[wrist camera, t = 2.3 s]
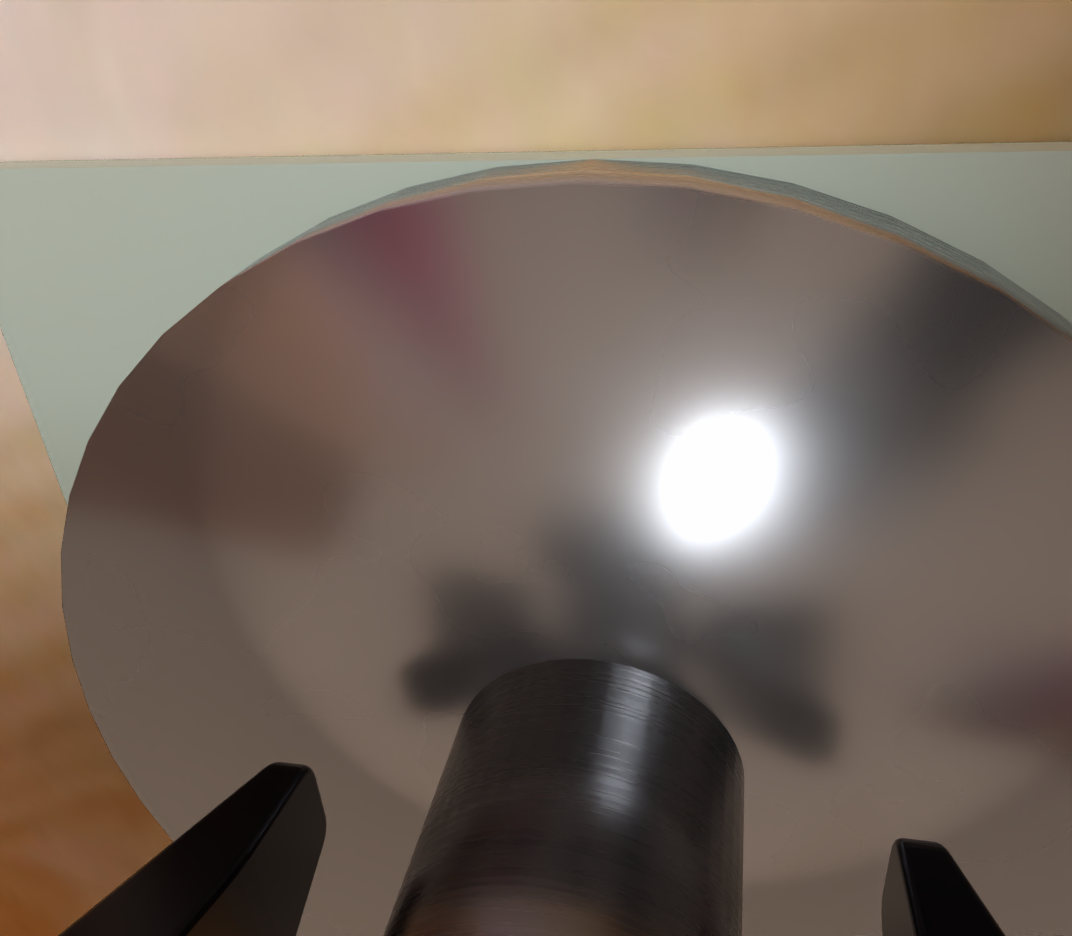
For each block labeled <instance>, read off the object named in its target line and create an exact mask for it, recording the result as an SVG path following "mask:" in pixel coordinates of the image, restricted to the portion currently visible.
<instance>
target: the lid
mask: <svg viewBox="0 0 1072 936" xmlns="http://www.w3.org/2000/svg"><path fill="white" fill-rule="evenodd" d="M61 573H62V607H63V613H64V618H65V623H66V629H67V634H68V640H69V645H70V650H71V656H72V660H73V663H74V666H75V669H76V672H77V675H78V678H79V681H80V684H81V687H82V690H83V693H84V696H85V699H86V702H87V704H88V707H89V710H90V712H91V714H92V716H93V718H94V720H95V722H96V724H97V726H98V728H99V730H100V732H101V735H102V737H103V739H104V741H105V743H106V745H107V747H108V749H109V751H110V753H111V755H112V757H113V758H114V760H115V762H116V763H117V765H118V766H119V768H120V769H121V771H122V772H123V774H124V776H125V777H126V779H127V780H128V782H129V783H130V785H131V787H132V788H133V790H134V791H135V793H136V794H137V796H138V797H139V799H140V801H141V802H142V803H143V804H144V806H145V807H146V808H147V809H148V811H149V812H150V813H151V814H152V816H153V817H154V818H155V819H156V821H157V822H158V823H159V824H160V826H161V827H162V828H163V829H164V831H165V832H166V833H167V834H168V836H169V837H170V838H171V839H172V841H173V842H174V841H175V840H176V839H177V838H179V837H180V836H181V835H182V834H184V833H185V832H186V831H187V830H189V829H190V828H191V827H192V826H193V825H195V824H196V823H197V822H198V821H200V820H201V819H202V818H203V817H204V816H206V815H207V814H208V813H209V812H211V811H212V810H213V809H214V808H216V807H217V806H218V805H219V804H220V803H222V802H223V801H224V800H225V799H227V798H228V797H229V796H230V795H232V794H233V793H234V792H235V791H236V790H238V789H239V788H240V787H241V786H243V785H244V784H245V783H246V782H247V781H249V780H250V779H251V778H252V777H254V776H255V775H256V774H257V773H259V772H260V771H261V770H262V769H263V768H265V767H266V766H268V765H270V764H272V763H275V762H285V763H294V764H302V765H307V766H309V767H310V768H311V769H312V770H313V771H314V774H315V777H316V780H317V784H318V788H319V792H320V796H321V800H322V803H323V807H324V811H325V815H326V824H327V827H326V836H325V841H324V845H323V848H322V851H321V855H320V858H319V861H318V865H317V868H316V871H315V874H314V878H313V881H312V884H311V888H310V891H309V894H308V898H307V901H306V904H305V908H304V911H303V914H302V918H301V921H300V924H299V928H298V931H297V934H296V936H882V917H881V907H882V894H883V888H884V883H885V878H886V873H887V868H888V863H889V858H890V853H891V848H892V845H893V843H894V842H895V840H897V839H898V838H908V839H917V840H925V841H933V842H937V843H940V844H941V845H943V846H944V847H945V848H946V849H947V850H948V851H949V853H950V854H951V856H952V857H953V859H954V860H955V861H956V863H957V864H958V866H959V867H960V869H961V870H962V872H963V873H964V875H965V876H966V878H967V879H968V881H969V882H970V884H971V885H972V887H973V888H974V890H975V891H976V893H977V894H978V896H979V897H980V899H981V900H982V902H983V903H984V904H985V906H986V907H987V909H988V910H989V912H990V913H991V915H992V916H993V918H994V919H995V921H996V922H997V924H998V925H999V927H1000V928H1001V930H1002V931H1003V933H1004V934H1005V936H1072V324H1071V323H1070V322H1069V321H1068V320H1066V319H1065V318H1064V317H1063V316H1062V315H1061V314H1059V313H1058V312H1056V311H1055V310H1053V309H1052V308H1050V307H1049V306H1048V305H1046V304H1045V303H1043V302H1042V301H1040V300H1039V299H1037V298H1036V297H1034V296H1033V295H1032V294H1030V293H1029V292H1027V291H1026V290H1024V289H1023V288H1021V287H1020V286H1018V285H1017V284H1016V283H1014V282H1013V281H1011V280H1010V279H1008V278H1007V277H1005V276H1004V275H1003V274H1001V273H1000V272H998V271H997V270H995V269H994V268H992V267H991V266H989V265H988V264H987V263H985V262H984V261H982V260H980V259H978V258H976V257H974V256H972V255H970V254H968V253H966V252H964V251H962V250H960V249H958V248H956V247H954V246H952V245H950V244H948V243H946V242H944V241H942V240H939V239H937V238H935V237H933V236H931V235H929V234H927V233H925V232H923V231H921V230H919V229H917V228H915V227H913V226H911V225H909V224H907V223H905V222H903V221H901V220H899V219H897V218H895V217H893V216H890V215H887V214H884V213H881V212H878V211H875V210H872V209H869V208H866V207H863V206H860V205H857V204H854V203H851V202H848V201H845V200H842V199H839V198H836V197H833V196H830V195H827V194H824V193H821V192H818V191H815V190H812V189H809V188H806V187H803V186H800V185H797V184H794V183H789V182H784V181H778V180H773V179H768V178H763V177H757V176H752V175H747V174H741V173H736V172H731V171H725V170H720V169H715V168H709V167H704V166H699V165H693V164H678V163H659V162H639V161H620V160H601V159H586V160H574V161H562V162H550V163H538V164H526V165H514V166H502V167H494V168H489V169H485V170H480V171H476V172H472V173H467V174H463V175H458V176H454V177H450V178H445V179H441V180H436V181H432V182H428V183H423V184H419V185H415V186H410V187H406V188H404V189H401V190H399V191H396V192H393V193H391V194H388V195H386V196H383V197H381V198H378V199H376V200H373V201H370V202H368V203H365V204H363V205H360V206H358V207H355V208H352V209H350V210H347V211H345V212H342V213H340V214H337V215H334V216H332V217H329V218H327V219H326V220H324V221H322V222H321V223H319V224H317V225H315V226H314V227H312V228H310V229H308V230H307V231H305V232H303V233H302V234H300V235H298V236H296V237H295V238H293V239H291V240H290V241H288V242H286V243H284V244H283V245H281V246H279V247H278V248H276V249H274V250H272V251H271V252H269V253H267V254H266V255H264V256H262V257H261V258H259V259H258V260H256V261H255V262H254V263H252V264H251V265H249V266H248V267H247V268H245V269H244V270H242V271H241V272H240V273H238V274H237V275H235V276H234V277H233V278H231V279H230V280H228V281H227V282H226V283H224V284H223V285H221V286H220V287H219V288H218V289H216V290H215V291H214V292H213V293H212V294H210V295H209V296H208V297H207V298H206V299H204V300H203V301H202V302H201V303H200V304H198V305H197V306H196V307H195V308H194V309H192V310H191V311H190V312H189V313H188V314H186V315H185V316H184V317H183V318H182V319H180V320H179V321H178V322H177V323H175V324H174V325H173V326H172V327H171V328H169V329H168V330H167V331H166V332H165V333H163V334H162V335H161V337H160V338H159V339H158V340H157V341H156V343H155V344H154V345H153V346H152V347H151V349H150V350H149V351H148V352H147V353H146V355H145V356H144V357H143V358H142V359H141V360H140V362H139V363H138V364H137V365H136V366H135V368H134V369H133V370H132V371H131V372H130V374H129V375H128V376H127V377H126V378H125V380H124V381H123V382H122V383H121V384H120V385H119V387H118V389H117V390H116V392H115V394H114V396H113V397H112V399H111V401H110V403H109V405H108V406H107V408H106V410H105V412H104V413H103V415H102V417H101V419H100V421H99V422H98V424H97V426H96V428H95V429H94V431H93V433H92V435H91V436H90V438H89V440H88V442H87V445H86V448H85V451H84V454H83V457H82V460H81V463H80V466H79V469H78V472H77V475H76V478H75V481H74V484H73V487H72V490H71V492H70V495H69V501H68V508H67V514H66V521H65V528H64V535H63V542H62V548H61Z"/></svg>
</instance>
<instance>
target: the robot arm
mask: <svg viewBox="0 0 1072 936" xmlns="http://www.w3.org/2000/svg"><path fill="white" fill-rule="evenodd" d="M326 827H327V824H326V815H325V811H324V807H323V803H322V800H321V796H320V792H319V788H318V784H317V780H316V777H315V774H314V771H313V770H312V769H311V768H310V767H309V766H307V765H302V764H294V763H285V762H275V763H272V764H270V765H268V766H266V767H265V768H263V769H262V770H261V771H260V772H259V773H257V774H256V775H255V776H254V777H252V778H251V779H250V780H249V781H247V782H246V783H245V784H244V785H243V786H241V787H240V788H239V789H238V790H236V791H235V792H234V793H233V794H232V795H230V796H229V797H228V798H227V799H225V800H224V801H223V802H222V803H220V804H219V805H218V806H217V807H216V808H214V809H213V810H212V811H211V812H209V813H208V814H207V815H206V816H204V817H203V818H202V819H201V820H200V821H198V822H197V823H196V824H195V825H193V826H192V827H191V828H190V829H189V830H187V831H186V832H185V833H184V834H182V835H181V836H180V837H179V838H177V839H176V840H175V841H174V842H173V843H171V844H170V845H169V846H168V847H166V848H165V849H164V850H163V851H161V852H160V853H159V854H158V855H157V856H155V857H154V858H153V859H152V860H150V861H149V862H148V863H147V864H145V865H144V866H143V867H142V868H141V869H139V870H138V871H137V872H136V873H134V874H133V875H132V876H131V877H130V878H128V879H127V880H126V881H125V882H123V883H122V884H121V885H120V886H118V887H117V888H116V889H115V890H114V891H112V892H111V893H110V894H109V895H107V896H106V897H105V898H104V899H102V900H101V901H100V902H99V903H98V904H96V905H95V906H94V907H93V908H91V909H90V910H89V911H88V912H87V913H85V914H84V915H83V916H82V917H80V918H79V919H78V920H77V921H75V922H74V923H73V924H72V925H71V926H69V927H68V928H67V929H66V930H64V931H63V932H62V933H61V934H59V935H58V936H296V934H297V931H298V928H299V924H300V921H301V918H302V914H303V911H304V908H305V904H306V901H307V898H308V894H309V891H310V888H311V884H312V881H313V878H314V874H315V871H316V868H317V865H318V861H319V858H320V855H321V851H322V848H323V845H324V841H325V836H326ZM881 917H882V936H1005V934H1004V933H1003V931H1002V930H1001V928H1000V927H999V925H998V924H997V922H996V921H995V919H994V918H993V916H992V915H991V913H990V912H989V910H988V909H987V907H986V906H985V904H984V903H983V902H982V900H981V899H980V897H979V896H978V894H977V893H976V891H975V890H974V888H973V887H972V885H971V884H970V882H969V881H968V879H967V878H966V876H965V875H964V873H963V872H962V870H961V869H960V867H959V866H958V864H957V863H956V861H955V860H954V859H953V857H952V856H951V854H950V853H949V851H948V850H947V849H946V848H945V847H944V846H943V845H941V844H940V843H937V842H933V841H925V840H917V839H908V838H898V839H897V840H895V842H894V843H893V845H892V848H891V853H890V858H889V863H888V868H887V873H886V878H885V883H884V888H883V894H882V907H881Z"/></svg>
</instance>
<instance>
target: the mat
mask: <svg viewBox="0 0 1072 936" xmlns="http://www.w3.org/2000/svg"><path fill="white" fill-rule="evenodd" d="M586 159H601V160H620V161H639V162H659V163H678V164H693V165H699V166H704V167H709V168H715V169H720V170H725V171H731V172H736V173H741V174H747V175H752V176H757V177H763V178H768V179H773V180H778V181H784V182H789V183H794V184H797V185H800V186H803V187H806V188H809V189H812V190H815V191H818V192H821V193H824V194H827V195H830V196H833V197H836V198H839V199H842V200H845V201H848V202H851V203H854V204H857V205H860V206H863V207H866V208H869V209H872V210H875V211H878V212H881V213H884V214H887V215H890V216H893V217H895V218H897V219H899V220H901V221H903V222H905V223H907V224H909V225H911V226H913V227H915V228H917V229H919V230H921V231H923V232H925V233H927V234H929V235H931V236H933V237H935V238H937V239H939V240H942V241H944V242H946V243H948V244H950V245H952V246H954V247H956V248H958V249H960V250H962V251H964V252H966V253H968V254H970V255H972V256H974V257H976V258H978V259H980V260H982V261H984V262H985V263H987V264H988V265H989V266H991V267H992V268H994V269H995V270H997V271H998V272H1000V273H1001V274H1003V275H1004V276H1005V277H1007V278H1008V279H1010V280H1011V281H1013V282H1014V283H1016V284H1017V285H1018V286H1020V287H1021V288H1023V289H1024V290H1026V291H1027V292H1029V293H1030V294H1032V295H1033V296H1034V297H1036V298H1037V299H1039V300H1040V301H1042V302H1043V303H1045V304H1046V305H1048V306H1049V307H1050V308H1052V309H1053V310H1055V311H1056V312H1058V313H1059V314H1061V315H1062V316H1063V317H1064V318H1065V319H1066V320H1068V321H1069V322H1070V323H1071V324H1072V142H1019V143H967V144H914V145H861V146H809V147H756V148H704V149H651V150H598V151H546V152H493V153H440V154H388V155H335V156H283V157H230V158H177V159H125V160H72V161H20V162H0V327H1V330H2V333H3V335H4V338H5V341H6V343H7V346H8V349H9V351H10V354H11V357H12V359H13V362H14V365H15V367H16V370H17V373H18V375H19V378H20V381H21V383H22V386H23V389H24V391H25V394H26V397H27V399H28V402H29V405H30V407H31V410H32V413H33V415H34V418H35V421H36V423H37V426H38V429H39V431H40V434H41V437H42V440H43V442H44V445H45V448H46V450H47V453H48V456H49V458H50V461H51V464H52V466H53V469H54V472H55V474H56V477H57V480H58V482H59V485H60V488H61V490H62V493H63V496H64V498H65V501H66V504H67V506H68V501H69V495H70V492H71V490H72V487H73V484H74V481H75V478H76V475H77V472H78V469H79V466H80V463H81V460H82V457H83V454H84V451H85V448H86V445H87V442H88V440H89V438H90V436H91V435H92V433H93V431H94V429H95V428H96V426H97V424H98V422H99V421H100V419H101V417H102V415H103V413H104V412H105V410H106V408H107V406H108V405H109V403H110V401H111V399H112V397H113V396H114V394H115V392H116V390H117V389H118V387H119V385H120V384H121V383H122V382H123V381H124V380H125V378H126V377H127V376H128V375H129V374H130V372H131V371H132V370H133V369H134V368H135V366H136V365H137V364H138V363H139V362H140V360H141V359H142V358H143V357H144V356H145V355H146V353H147V352H148V351H149V350H150V349H151V347H152V346H153V345H154V344H155V343H156V341H157V340H158V339H159V338H160V337H161V335H162V334H163V333H165V332H166V331H167V330H168V329H169V328H171V327H172V326H173V325H174V324H175V323H177V322H178V321H179V320H180V319H182V318H183V317H184V316H185V315H186V314H188V313H189V312H190V311H191V310H192V309H194V308H195V307H196V306H197V305H198V304H200V303H201V302H202V301H203V300H204V299H206V298H207V297H208V296H209V295H210V294H212V293H213V292H214V291H215V290H216V289H218V288H219V287H220V286H221V285H223V284H224V283H226V282H227V281H228V280H230V279H231V278H233V277H234V276H235V275H237V274H238V273H240V272H241V271H242V270H244V269H245V268H247V267H248V266H249V265H251V264H252V263H254V262H255V261H256V260H258V259H259V258H261V257H262V256H264V255H266V254H267V253H269V252H271V251H272V250H274V249H276V248H278V247H279V246H281V245H283V244H284V243H286V242H288V241H290V240H291V239H293V238H295V237H296V236H298V235H300V234H302V233H303V232H305V231H307V230H308V229H310V228H312V227H314V226H315V225H317V224H319V223H321V222H322V221H324V220H326V219H327V218H329V217H332V216H334V215H337V214H340V213H342V212H345V211H347V210H350V209H352V208H355V207H358V206H360V205H363V204H365V203H368V202H370V201H373V200H376V199H378V198H381V197H383V196H386V195H388V194H391V193H393V192H396V191H399V190H401V189H404V188H406V187H410V186H415V185H419V184H423V183H428V182H432V181H436V180H441V179H445V178H450V177H454V176H458V175H463V174H467V173H472V172H476V171H480V170H485V169H489V168H494V167H502V166H514V165H526V164H538V163H550V162H562V161H574V160H586Z"/></svg>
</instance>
